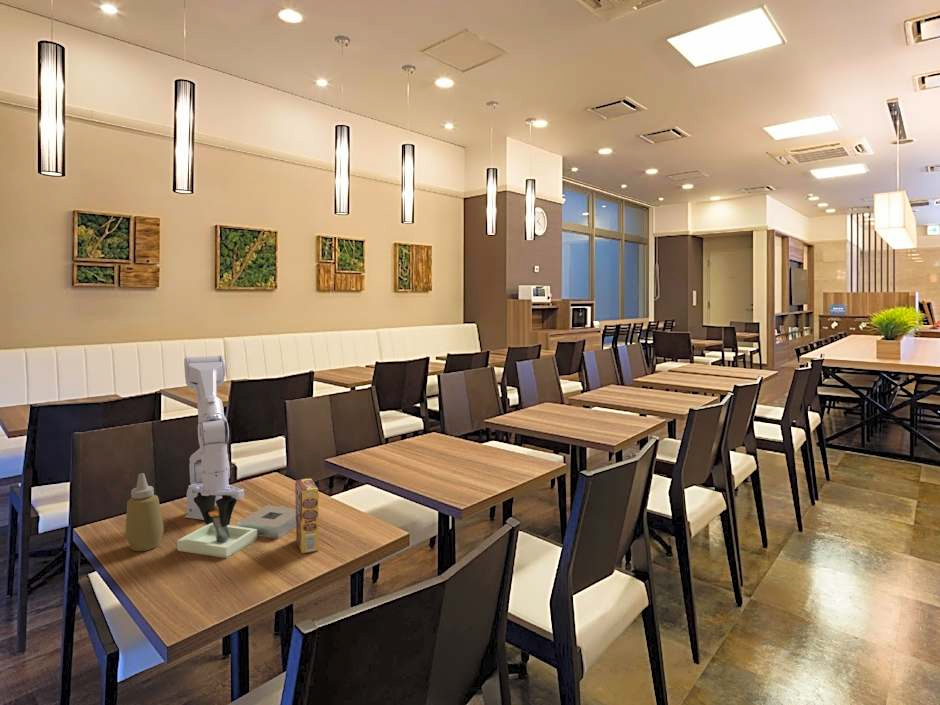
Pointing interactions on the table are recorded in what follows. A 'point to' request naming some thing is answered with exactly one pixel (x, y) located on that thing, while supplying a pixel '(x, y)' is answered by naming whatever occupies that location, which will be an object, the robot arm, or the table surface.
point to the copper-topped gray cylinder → (218, 525)
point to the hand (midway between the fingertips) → (217, 524)
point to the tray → (207, 544)
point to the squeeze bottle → (143, 517)
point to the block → (271, 521)
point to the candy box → (307, 515)
